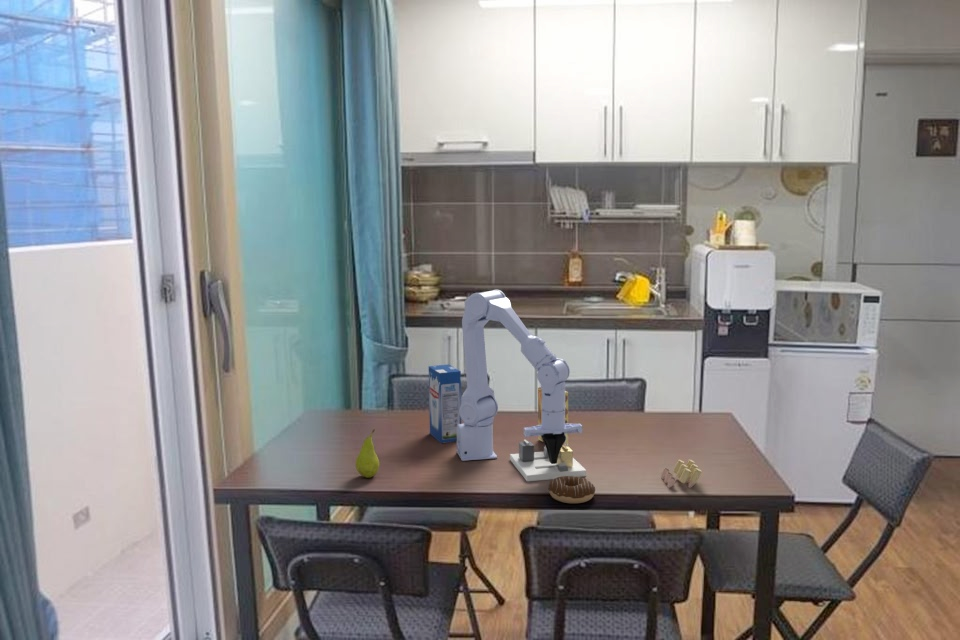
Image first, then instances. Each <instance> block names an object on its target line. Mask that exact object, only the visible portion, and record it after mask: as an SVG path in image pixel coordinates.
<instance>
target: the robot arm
mask: <svg viewBox="0 0 960 640" xmlns="http://www.w3.org/2000/svg"><path fill="white" fill-rule="evenodd" d="M490 321H494V322H499V323H501V324H502V325H503V326H504V327H505V329H506V330H508V332H509V334H511V335H512V336H513V337H514V338H515V339H516V340H517V341H518V342H519V344H520V352H521V354H522V355H523V356H524V357H525V358H526V360H527V361H528V362H529V363H530V364H531V365H532V367H533V368H534V369H535V370H536V372H537V373H536V378H537V381H538V383H539V384H540V387H541V390H542V425H538V424H537V425H534V426H528V427H523V436H524V437H525V438H530V437H537V436H540V435H541V437H542V439H543V441H544V442H543V443H544V446H546V448H547V452H548V456H549V462H550V463H551V464H557V459H558V455H559V452H560V450H561V447H562V445H563V444H564V442H565V440H566V436H565V435H564V434H565V433H568V434H575V433H578V434H583V425H582V424H581V423H568V424H567V423H565V391H566V380H567V381H568V379H569V377H570V373H571V371H570V367H569V365H568V362H567V361H566V360H565V359H562V358H558V357H557V355H556V354H553V352H552V351H551V349H550V348H549V347H548V346H547V345H546V344H545V343H546V341H545V339H544V338H540V337H539V336H538V335H537V336H535V335H532V334H531V333H530V331H529V329H527V327H526V325H525V324H524V323H523V321H522V320H521V319H520V317H519V316H518V314H517V313H516V312H515V310H514V308H512V303H511V301H510V299H509V298H508V297H506V295H505V293H504V292H503V291H502V290H500V289H492V290H489V291H482V292H475V293H471V294H470V295H469V296H468V297H467V298H466V299H465V301H464V311H463V316H462V319H461V328H462V329H461V330H462V338H463V339H462V340H463V352H464V363H465V366H464V367H465V374H466V375H465V376H466V377H465V378H466V388H465V390H464V392H463V393H462V394H461V406H460V410H459V413H460V417H461V421H462V422H463V423H461V424H458V425H457V441H456V454H457V455H458V456H459V458H460V460H461V461H462V462H465V461H466V462H467V461H477V460H488V459H497V458H498V455H497V454H496V453H495V451H494V440H493V439H494V438H493V437H494V433H493V431H494V430H493V427H494V426H493V424H494V422H493V421H494V420H495V419H494V418H495V416H497V414H498V410H499V404H498V402H497V399H496V397H495V391H494V389H492V388H491V386H489V379H488V368H487V367H488V366H487V357H486V356H487V355H486V344H485V342H486V341H485V330H484V327H485V326H486V324H487V323H488V322H490Z"/></svg>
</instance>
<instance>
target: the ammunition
mask: <svg viewBox="0 0 960 640" xmlns="http://www.w3.org/2000/svg"><path fill="white" fill-rule="evenodd" d="M685 463H686V462H685V461H684V460H681V459H678V461H677V462H676V463H675V465H674V468H673V470H672V473H671V470H670V469H669V468H667V467H664V468H663V469H662V471H661V472H662V473H661V476H660V478H661V479H662V480H663V481H664V484H667V485H666V486H667V488H668V489H671V488H672V486H674V485H675V483H676V481H677V479H676V478H675V477H674V474H675V476H676V477H677V478H678V481H679V482H681V483H682V484H688V488H692V487H693V486H695V485H696V484H697V483H698V482H697V481H698V480H699V479H700V476H701V475H702V473H703V471H702V470H701V469H700V468H699V466H698V465H697V464H696V462H695V461H694V460H693V459H688V461H687V463H686V464H685ZM673 473H674V474H673Z"/></svg>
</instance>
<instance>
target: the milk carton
mask: <svg viewBox="0 0 960 640" xmlns="http://www.w3.org/2000/svg"><path fill="white" fill-rule="evenodd" d="M427 368H428V400H429V403H428V404H429V405H428V406H429V409H428V410H429V434H430V435H431V436H432V437H433V438H435V439H436V440H437V441H438V443H440V444H443V443H452V442H457V425H458V424H462V419H461V417H460V413H459V410H460V406H461V396H462V386H461V385H462V380H461V379H462V378H461V377H462V375H461V373H462V371H461V370H459V369H457V368H456V367H454V366H453V365H451V364H449V363H447V364H441V365H440V364H438V365H428V367H427Z"/></svg>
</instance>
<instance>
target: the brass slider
mask: <svg viewBox="0 0 960 640" xmlns="http://www.w3.org/2000/svg"><path fill="white" fill-rule="evenodd" d="M569 447H570V446H569ZM569 447H566V446H565V445H562V447H561V450H560V452H559V455H558V459H557V464H558V463H562V462H565V463H566V466H567V467H573V458H574V451H573V450H572V449H571V447H570V448H569Z"/></svg>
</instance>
